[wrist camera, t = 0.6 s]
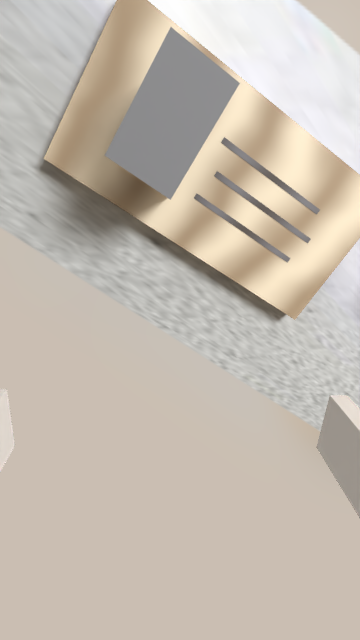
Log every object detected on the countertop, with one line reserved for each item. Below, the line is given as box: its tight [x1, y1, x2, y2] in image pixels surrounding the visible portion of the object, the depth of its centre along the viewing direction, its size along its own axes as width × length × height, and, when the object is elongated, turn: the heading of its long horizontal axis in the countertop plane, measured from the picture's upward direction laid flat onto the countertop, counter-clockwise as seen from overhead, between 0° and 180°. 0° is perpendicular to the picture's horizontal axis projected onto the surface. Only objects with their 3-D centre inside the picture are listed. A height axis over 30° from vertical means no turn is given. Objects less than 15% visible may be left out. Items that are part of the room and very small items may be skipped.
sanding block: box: [105, 27, 240, 200], centre depth 25 cm, size 8×5×8 cm, turn 147°
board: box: [44, 0, 360, 320], centre depth 31 cm, size 28×14×2 cm, turn 57°
